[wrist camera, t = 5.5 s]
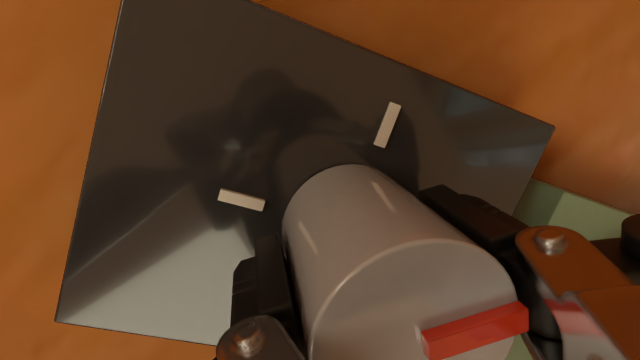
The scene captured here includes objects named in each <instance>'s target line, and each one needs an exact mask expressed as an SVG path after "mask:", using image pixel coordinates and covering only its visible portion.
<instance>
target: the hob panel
mask: <svg viewBox="0 0 640 360" xmlns="http://www.w3.org/2000/svg"><path fill="white" fill-rule="evenodd" d="M554 130H555V126H554V125H551V124H549V123H546V122H544V121H542V120H539V119H537V118H534V117H532V116H529V115H527V114H525V113H522V112H520V111H517V110H515V109H512V108H510V107H508V106H505V105H503V104H500V103H498V102H495V101H493V100H491V99H488V98H486V97H483V96H481V95H478V94H476V93H474V92H471V91H469V90H466V89H464V88H461V87H459V86H457V85H454V84H452V83H449V82H447V81H444V80H442V79H440V78H437V77H435V76H432V75H430V74H427V73H425V72H423V71H420V70H418V69H415V68H413V67H410V66H408V65H406V64H403V63H401V62H398V61H396V60H393V59H391V58H389V57H386V56H384V55H381V54H379V53H376V52H374V51H372V50H369V49H367V48H364V47H362V46H359V45H357V44H355V43H352V42H350V41H347V40H345V39H342V38H340V37H338V36H335V35H333V34H330V33H328V32H325V31H323V30H321V29H318V28H316V27H313V26H311V25H308V24H306V23H303V22H301V21H299V20H296V19H294V18H291V17H289V16H286V15H284V14H282V13H279V12H277V11H274V10H272V9H269V8H267V7H265V6H262V5H260V4H257V3H255V2H252V1H250V0H121V3H120V8H119V12H118V17H117V22H116V27H115V32H114V36H113V41H112V46H111V51H110V55H109V60H108V65H107V70H106V75H105V79H104V84H103V89H102V94H101V98H100V103H99V108H98V113H97V118H96V122H95V127H94V132H93V137H92V141H91V146H90V151H89V156H88V161H87V165H86V170H85V175H84V180H83V185H82V189H81V194H80V199H79V204H78V208H77V213H76V218H75V223H74V228H73V232H72V237H71V242H70V247H69V251H68V256H67V261H66V266H65V271H64V275H63V280H62V285H61V290H60V294H59V299H58V304H57V309H56V314H55V318H54V321H55V322H57V323H64V324H70V325H77V326H84V327H90V328H97V329H104V330H110V331H117V332H124V333H131V334H137V335H144V336H151V337H157V338H164V339H171V340H177V341H184V342H191V343H197V344H204V345H211V346H217V344H218V341H219V340H220V338H221V336H222V335H223V334H224V333H225V332H226V331H227V330H228V329H229V328H230V321H231V304H232V295H233V294H232V286H233V272H234V270H235V269H236V267H237V266H238V264H239V263H240V261H241V260H245V259H248V258H251V257H254V256H255V247H254V240H255V239H258V238H261V237H265V236H268V235H271V234H275V233H278V234H279V237H280V241H281V244H282V247H283V251H284V246H283V240H282V222H283V218H284V214H285V211H286V209H287V206H288V204H289V202H290V200H291V199H292V197H293V196H294V194H295V193H296V192H297V190H298V189H299V188H300V187H301V186H302V185H303V184H304V183H305V182H306V181H308V180H309V179H310V178H312V177H313V176H315V175H316V174H318V173H320V172H322V171H324V170H326V169H329V168H332V167H335V166H340V165H349V164H357V165H365V166H369V167H372V168H375V169H378V170H380V171H382V172H384V173H385V174H387V175H388V176H389V177H391V178H392V179H393V180H395V181H396V182H397V183H399V184H400V185H401V186H403V187H404V188H405V189H406V190H408V191H409V192H410V193H412V194H413V195H414V196H416V197H417V198H418V192H419V191H420V190H424V189H427V188H430V187H434V186H437V185H440V184H443V185H445V186H447V187H449V188H450V189H452V190H453V191H455V192H457V193H458V194H466V195H471V196H475V197H479V198H481V199H483V200H484V201H486V202H488V203H490V204H491V206H495V207H497V208H498V209H500V210H501V212H502V211H503V212H505V213H507V214H509V215H510V216H512V215H513V213H514V211H515V209H516V207H517V205H518V203H519V201H520V199H521V197H522V195H523V193H524V191H525V189H526V187H527V185H528V183H529V181H530V179H531V177H532V175H533V173H534V171H535V169H536V167H537V165H538V163H539V161H540V158H541V156H542V154H543V152H544V150H545V148H546V146H547V144H548V142H549V140H550V138H551V136H552V134H553V132H554ZM284 254H285V251H284ZM285 257H286V256H285ZM286 261H287V260H286Z"/></svg>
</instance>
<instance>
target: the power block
mask: <svg viewBox="0 0 640 360" xmlns="http://www.w3.org/2000/svg"><path fill="white" fill-rule="evenodd" d="M632 215H635V214H633V213H630V212H627V211H624V210H621V209H618V208H616V207H613V206H610V205H607V204H604V203H602V202H599V201H596V200H593V199H590V198H587V197H585V196H582V195H579V194H576V193H573V192H570V191H568V190H565V189H562V188H559V187H556V186H553V185H551V184H548V183H545V182H542V181H539V180H536V179H534V178H531V179H530V181H529V183H528V185H527V187H526V189H525V191H524V193H523V195H522V197H521V199H520V201H519V203H518V205H517V207H516V209H515V211H514V213H513V215H512V217H514V218H516V219H517V220H519V221H521V222H523V223H524V224H526V225H528V226H530V227H533V226H541V225H551V226H560V227H565V228H568V229H571V230H574V231H576V232H578V233H580V234H581V235H582V236H584V237H585V238H586V239H587V240H588V241H591V240H601V239H610V238H620V237H621V224H622V221H623V220H624V219H626V218H627V217H630V216H632ZM505 360H533V359H532V357H531V355H530V353H529V351H528V349H527V347H526V345H525V343H524V342H523V340H522V338H521V335H520V334H519V335H516V336H515V339H514V342H513V345H512V347H511V349H510V352H509V354H508V356H507V358H506V359H505Z"/></svg>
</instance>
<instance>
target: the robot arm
mask: <svg viewBox="0 0 640 360" xmlns="http://www.w3.org/2000/svg"><path fill="white" fill-rule="evenodd" d="M418 199H419V200H421V201H422V202H423V203H425V204H426V205H427V206H429V207H430V208H431V209H433V210H434V211H435V212H436V213H438V214H439V215H440V216H442V217H443V218H444V219H446V220H447V221H448V222H450V223H451V224H452V225H453V226H455V227H456V228H457V229H459V230H460V231H461V232H463V233H464V234H465V235H466V236H468V237H469V238H470V239H472V240H473V241H474V242H476V243H477V244H478V245H480V246H481V247H482V248H483V249H485V250H486V251H487V252H489V253H490V254H491V255H493V256H494V257H495V258H496V259H497V260H498V261H499V262H500V263H501V264H502V265H503V267H504V268H505V269H506V271H507V272H508V274H509V276H510V278H511V280H512V282H513V284H514V287H515V290H516V294H517V297H518V301H520V302H521V303H522V304H524V305H525V306H526V307H527V308H528V309H529V331H528V332H525V333H522V334H520V335H521V338H522V340H523V342H524V343H525V345H526V347H527V349H528V351H529V353H530V355H531V357H532V359H533V360H640V214H637V215H632V216H630V217H627V218H626V219H624V220H623V221H622V224H621V237H620V238H610V239H601V240H591V241H588V240H587V239H586V238H585V237H584V236H582V235H581V234H580V233H578V232H576V231H574V230H571V229H568V228H565V227H560V226H551V225H541V226H533V227H530V226H528V225H526V224H524V223H523V222H521V221H519V220H517V219H516V218H514V217H512V216H510V215H509V214H507V213H505V212H503V211H502V212H501V210H500V209H498V208H497V207H495V206H491V204H490V203H488V202H486V201H484V200H483V199H481V198H479V197H475V196H471V195H466V194H458V193H457V192H455V191H453V190H452V189H450V188H449V187H447V186H445V185H443V184H440V185H437V186H434V187H430V188H427V189H424V190H420V191H419V192H418ZM254 247H255V256H254V257H251V258H248V259H245V260H241V261H240V263H239V264H238V266H237V267H236V269H235V270H234V272H233V286H232V294H233V295H232V304H231V321H230V328H229V329H228V330H227V331H226V332H225V333H224V334H223V335H222V336H221V338H220V340H219V341H218V344H217V347H216V357H215V358H214V359H213V360H307V358H306V353H305V348H304V343H303V338H302V334H301V329H300V324H299V319H298V314H297V309H296V304H295V299H294V295H293V290H292V285H291V280H290V275H289V270H288V265H287V261H286V257H285V254H284V251H283V247H282V244H281V241H280V237H279V234H278V233H275V234H271V235H268V236H265V237H261V238H258V239H255V240H254Z"/></svg>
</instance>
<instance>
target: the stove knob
mask: <svg viewBox="0 0 640 360" xmlns="http://www.w3.org/2000/svg"><path fill="white" fill-rule="evenodd" d="M282 240H283V246H284V251H285V256H286V260H287V265H288V270H289V275H290V280H291V285H292V290H293V295H294V299H295V304H296V309H297V314H298V319H299V324H300V329H301V334H302V338H303V343H304V348H305V353H306V358H307V360H505V359H506V358H507V356H508V354H509V352H510V349H511V347H512V345H513V342H514V339H515V336H516V335H519V334H522V333H525V332H528V331H529V309H528V308H527V307H526V306H525V305H524V304H522V303H521V302H520V301H518V297H517V294H516V290H515V287H514V284H513V282H512V280H511V278H510V276H509V274H508V272H507V271H506V269H505V268H504V267H503V265H502V264H501V263H500V262H499V261H498V260H497V259H496V258H495V257H494V256H493V255H491V254H490V253H489V252H487V251H486V250H485V249H483V248H482V247H481V246H480V245H478V244H477V243H476V242H474V241H473V240H472V239H470V238H469V237H468V236H466V235H465V234H464V233H463V232H461V231H460V230H459V229H457V228H456V227H455V226H453V225H452V224H451V223H450V222H448V221H447V220H446V219H444V218H443V217H442V216H440V215H439V214H438V213H436V212H435V211H434V210H433V209H431V208H430V207H429V206H427V205H426V204H425V203H423V202H422V201H421V200H419V199H418V198H417V197H416V196H414V195H413V194H412V193H410V192H409V191H408V190H406V189H405V188H404V187H403V186H401V185H400V184H399V183H397V182H396V181H395V180H393V179H392V178H391V177H389V176H388V175H387V174H385V173H384V172H382V171H380V170H378V169H375V168H372V167H369V166H365V165H357V164H349V165H340V166H335V167H332V168H329V169H326V170H324V171H322V172H320V173H318V174H316V175H315V176H313V177H312V178H310V179H309V180H308V181H306V182H305V183H304V184H303V185H302V186H301V187H300V188H299V189H298V190H297V192H296V193H295V194H294V196H293V197H292V199H291V200H290V202H289V204H288V206H287V209H286V211H285V214H284V218H283V222H282Z"/></svg>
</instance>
